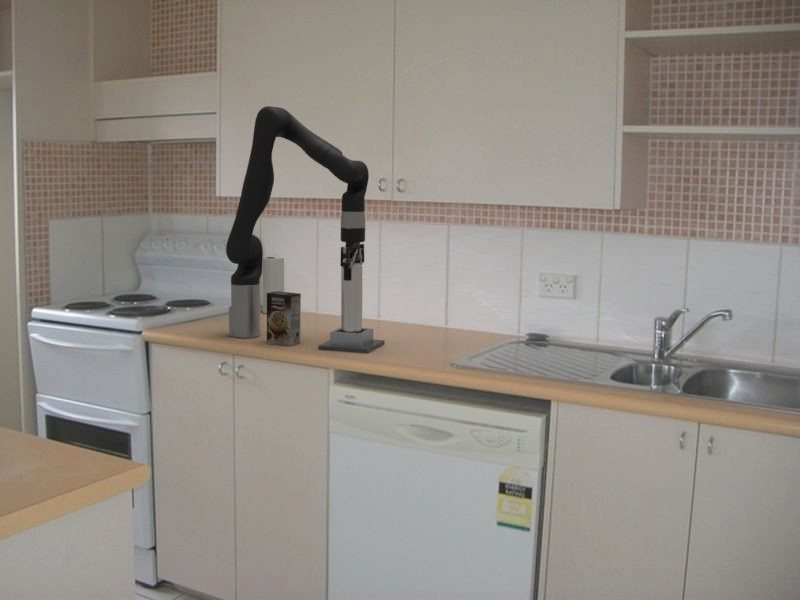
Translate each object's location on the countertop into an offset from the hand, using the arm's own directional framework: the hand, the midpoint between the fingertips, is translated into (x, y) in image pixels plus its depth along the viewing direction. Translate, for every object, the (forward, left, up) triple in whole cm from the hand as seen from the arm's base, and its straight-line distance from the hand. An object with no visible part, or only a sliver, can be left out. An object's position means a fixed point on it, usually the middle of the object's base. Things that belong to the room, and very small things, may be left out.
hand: (352, 278), depth 276 cm
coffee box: (-22, -3, -22) cm, 31 cm away
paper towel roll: (-52, +50, -22) cm, 75 cm away
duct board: (0, 0, -21) cm, 21 cm away
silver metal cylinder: (0, 0, -20) cm, 20 cm away
